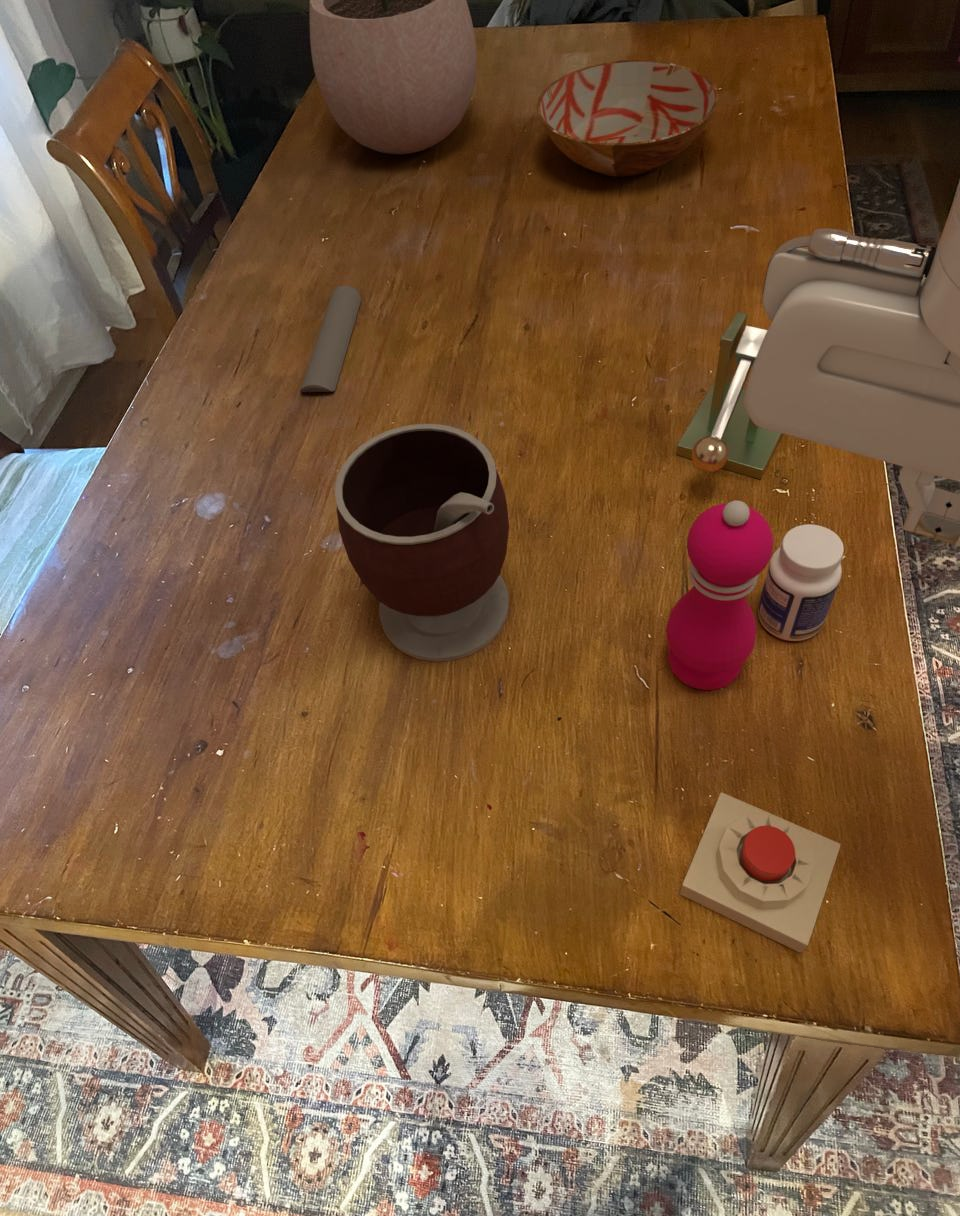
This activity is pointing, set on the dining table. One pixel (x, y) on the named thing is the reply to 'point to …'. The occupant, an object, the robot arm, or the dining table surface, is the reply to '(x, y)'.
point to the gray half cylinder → (332, 341)
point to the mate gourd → (428, 537)
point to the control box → (751, 901)
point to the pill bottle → (801, 582)
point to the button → (767, 853)
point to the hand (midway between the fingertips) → (936, 529)
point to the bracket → (742, 435)
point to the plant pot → (394, 68)
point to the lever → (728, 404)
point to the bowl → (627, 114)
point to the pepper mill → (718, 596)
